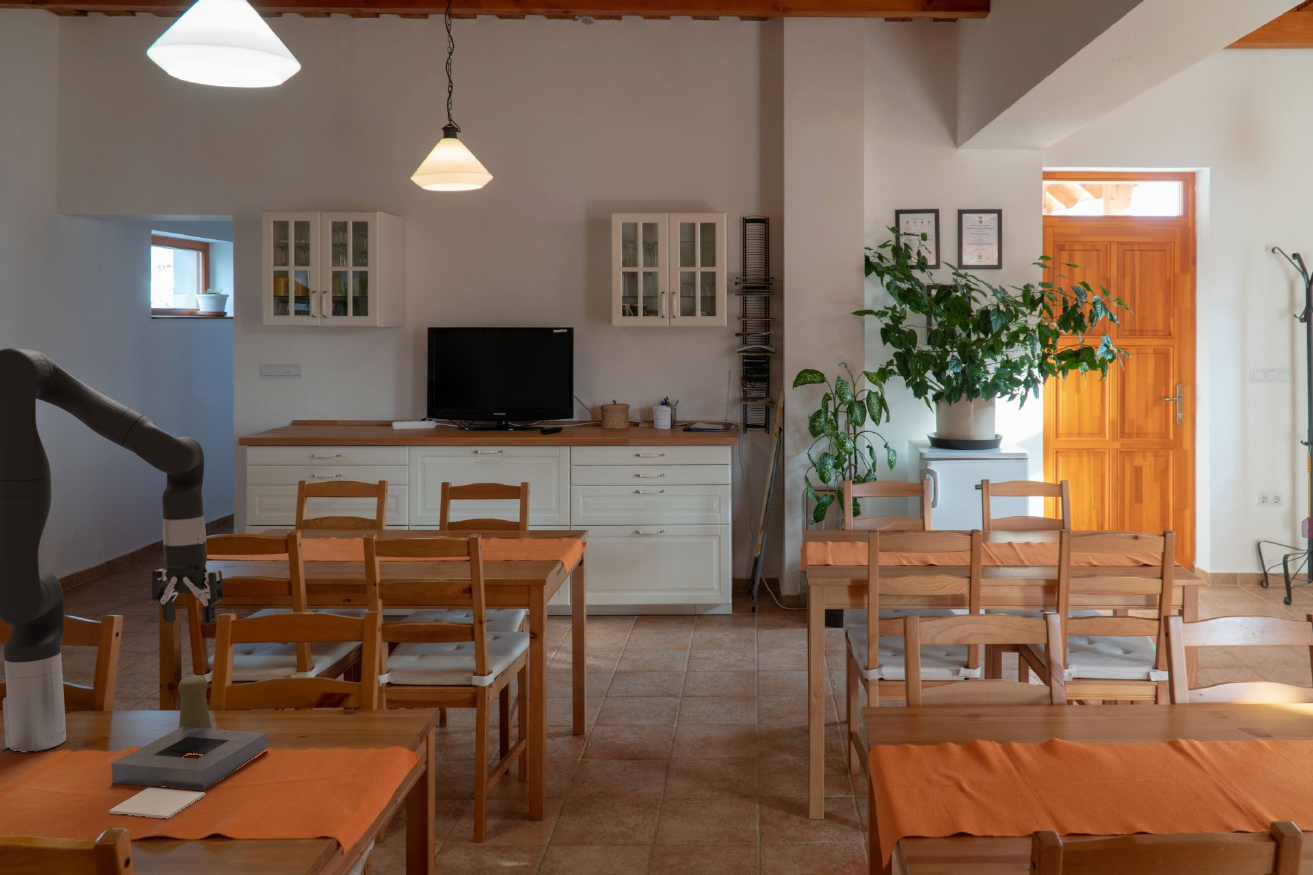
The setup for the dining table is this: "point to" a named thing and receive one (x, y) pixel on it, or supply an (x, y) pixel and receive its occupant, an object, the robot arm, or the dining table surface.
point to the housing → (169, 769)
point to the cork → (194, 703)
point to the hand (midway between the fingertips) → (189, 623)
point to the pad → (157, 803)
